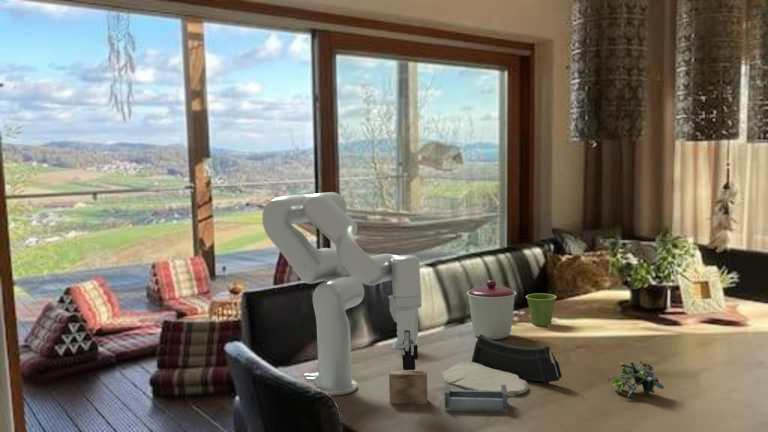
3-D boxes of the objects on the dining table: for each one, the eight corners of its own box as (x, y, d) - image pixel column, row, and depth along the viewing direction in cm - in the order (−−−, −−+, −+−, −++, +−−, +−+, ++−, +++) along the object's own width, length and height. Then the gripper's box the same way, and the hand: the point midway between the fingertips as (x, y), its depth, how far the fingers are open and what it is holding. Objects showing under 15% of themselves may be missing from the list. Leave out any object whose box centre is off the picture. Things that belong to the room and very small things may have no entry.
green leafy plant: (646, 412, 180) (673, 382, 175) (624, 414, 174) (652, 383, 169) (618, 380, 188) (644, 351, 183) (596, 382, 181) (622, 351, 176)
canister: (527, 337, 241) (526, 280, 239) (491, 345, 231) (490, 286, 229) (492, 328, 256) (492, 274, 254) (457, 335, 246) (456, 279, 244)
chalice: (398, 350, 228) (396, 299, 226) (385, 346, 233) (383, 296, 231) (413, 346, 232) (412, 296, 231) (400, 342, 237) (399, 293, 236)
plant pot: (524, 320, 266) (524, 293, 265) (554, 321, 265) (554, 293, 264) (527, 328, 254) (526, 299, 254) (558, 328, 253) (558, 299, 252)
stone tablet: (467, 366, 209) (467, 359, 209) (540, 390, 185) (540, 382, 185) (427, 377, 199) (427, 369, 199) (499, 404, 175) (499, 395, 175)
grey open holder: (445, 410, 170) (444, 392, 170) (445, 401, 177) (445, 383, 177) (507, 412, 168) (507, 393, 168) (506, 402, 175) (505, 384, 175)
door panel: (389, 403, 177) (389, 374, 177) (391, 399, 180) (390, 370, 180) (426, 404, 176) (426, 374, 175) (427, 399, 179) (426, 371, 178)
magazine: (464, 337, 208) (542, 324, 187) (471, 335, 211) (548, 322, 189) (477, 391, 206) (558, 385, 184) (484, 389, 208) (564, 382, 187)
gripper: (396, 296, 185) (400, 356, 186) (389, 308, 168) (393, 374, 169) (423, 295, 184) (426, 355, 185) (419, 307, 167) (422, 373, 168)
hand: (410, 364), depth 177 cm, fingers open, 9 cm apart
